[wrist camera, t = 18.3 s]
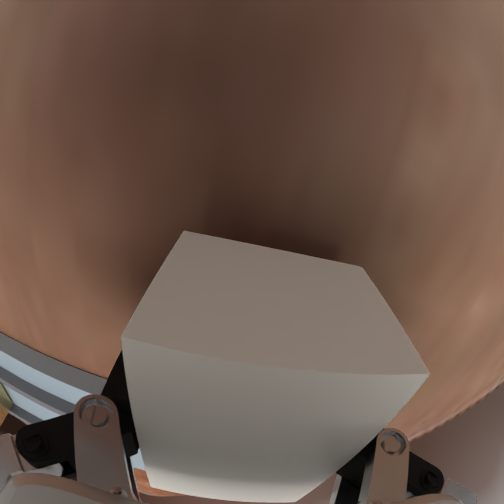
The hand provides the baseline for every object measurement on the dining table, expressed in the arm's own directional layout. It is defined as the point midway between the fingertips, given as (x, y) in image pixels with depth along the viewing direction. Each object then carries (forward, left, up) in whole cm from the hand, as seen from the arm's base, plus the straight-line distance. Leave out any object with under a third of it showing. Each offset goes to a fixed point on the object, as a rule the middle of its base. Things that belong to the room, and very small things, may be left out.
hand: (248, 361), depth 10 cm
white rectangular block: (0, 0, -1) cm, 1 cm away
